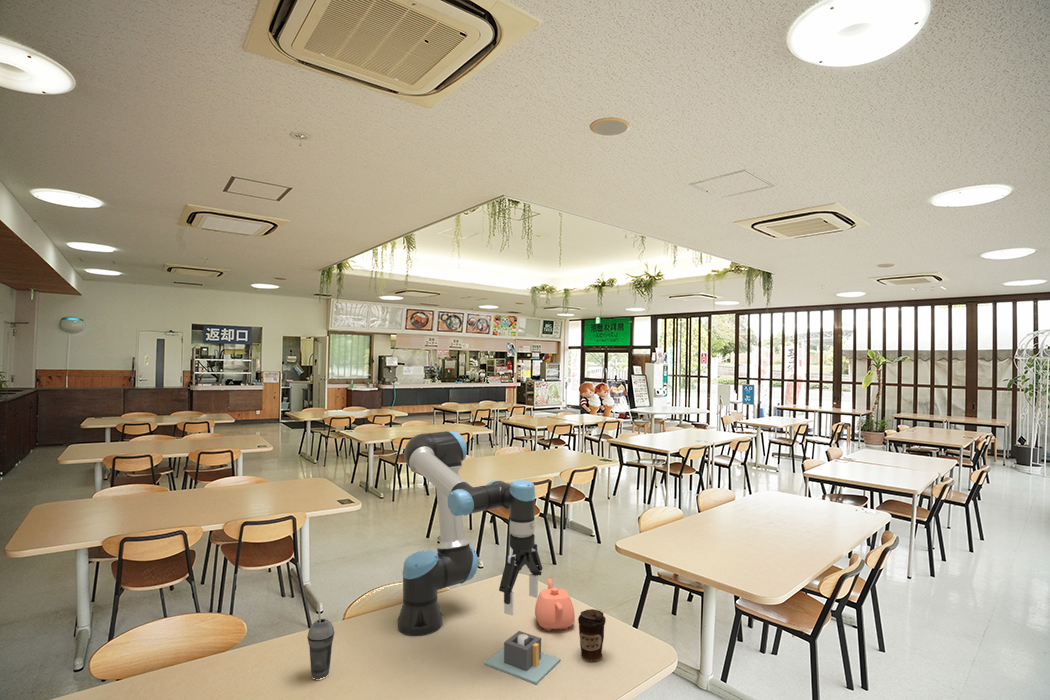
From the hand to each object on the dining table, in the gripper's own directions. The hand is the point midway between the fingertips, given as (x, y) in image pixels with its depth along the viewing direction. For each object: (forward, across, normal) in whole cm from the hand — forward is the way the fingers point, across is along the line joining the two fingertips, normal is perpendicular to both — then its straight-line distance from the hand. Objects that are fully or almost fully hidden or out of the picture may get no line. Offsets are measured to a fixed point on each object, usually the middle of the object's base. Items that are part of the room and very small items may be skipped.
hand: (521, 604), depth 156 cm
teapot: (+17, +26, +3) cm, 31 cm away
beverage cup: (+17, -37, +44) cm, 60 cm away
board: (+17, 0, -1) cm, 17 cm away
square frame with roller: (+16, 0, -1) cm, 16 cm away
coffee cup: (+17, +14, -17) cm, 28 cm away
